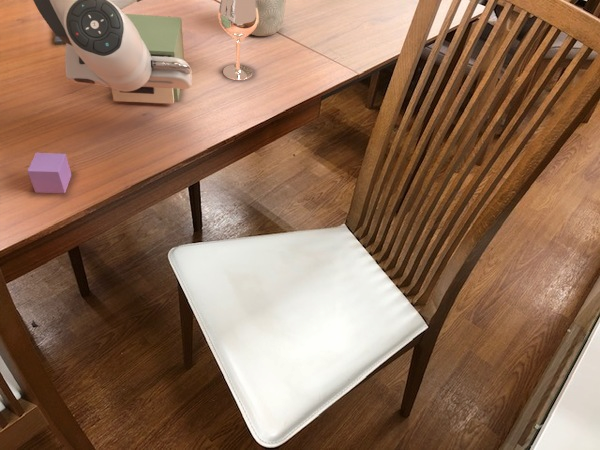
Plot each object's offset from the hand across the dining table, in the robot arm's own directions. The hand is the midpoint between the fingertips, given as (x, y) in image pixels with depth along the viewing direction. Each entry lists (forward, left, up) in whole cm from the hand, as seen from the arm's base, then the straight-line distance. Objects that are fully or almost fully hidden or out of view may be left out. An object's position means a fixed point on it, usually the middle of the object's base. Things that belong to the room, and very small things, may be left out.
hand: (139, 83), depth 94 cm
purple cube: (-11, -22, -6) cm, 25 cm away
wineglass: (+18, +16, -6) cm, 25 cm away
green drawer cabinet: (0, +11, -6) cm, 13 cm away
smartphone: (-20, +32, -6) cm, 38 cm away
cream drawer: (0, +6, -5) cm, 8 cm away
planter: (+23, +38, -6) cm, 45 cm away
